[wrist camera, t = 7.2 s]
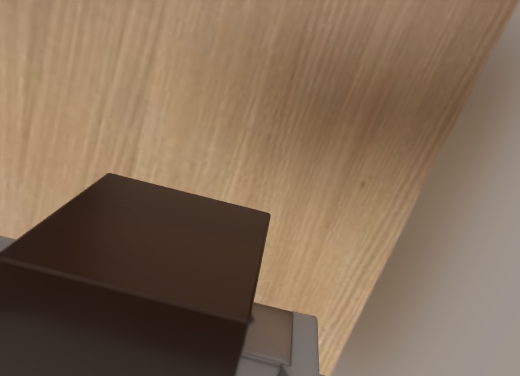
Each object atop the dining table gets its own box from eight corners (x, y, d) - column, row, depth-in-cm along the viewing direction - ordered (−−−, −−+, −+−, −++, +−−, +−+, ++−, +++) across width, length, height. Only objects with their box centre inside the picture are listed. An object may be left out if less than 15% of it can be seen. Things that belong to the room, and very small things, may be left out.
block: (108, 171, 10) (-10, 256, 6) (271, 212, 10) (249, 322, 6) (95, 305, 12) (-7, 439, 8) (237, 342, 11) (203, 494, 8)
